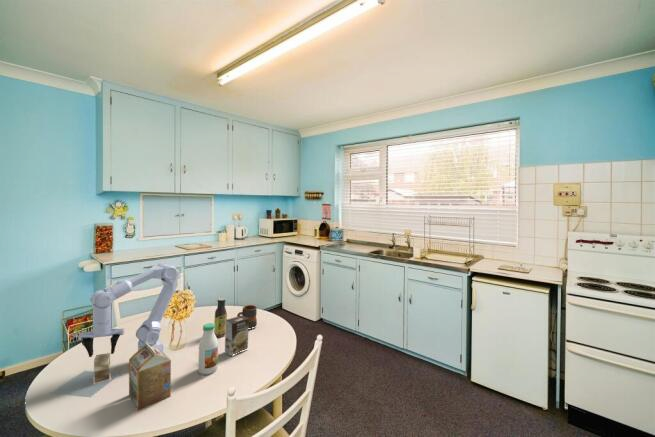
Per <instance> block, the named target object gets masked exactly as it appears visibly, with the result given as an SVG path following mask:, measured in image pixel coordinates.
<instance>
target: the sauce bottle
mask: <svg viewBox="0 0 655 437" xmlns="http://www.w3.org/2000/svg"><path fill="white" fill-rule="evenodd" d="M214 311H215V312H214V323H213V324H214V325H215V328H214V333H215V336H216V338H222V337H225V333H226V320H227V319H228V318H227V317H228V313H227V310H226V298H225V297H219V298H217V308H216V309H215V310H214ZM221 336H222V337H221Z"/></svg>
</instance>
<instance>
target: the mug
mask: <svg viewBox="0 0 655 437" xmlns="http://www.w3.org/2000/svg"><path fill="white" fill-rule="evenodd" d="M257 309H258V308H257V306H256V305H254V304H253V305H252V304H248V305H244V306H243V307H242V311H240V312H238V313H237V315H236V317H238V316H241V315H242V316H245V317H247V318H249V328H252V327H255V326H256V325H258V324H257V322H258V320H257V315H258V314H257V312H258V310H257ZM256 327H257V326H256ZM256 327H255V328H256Z"/></svg>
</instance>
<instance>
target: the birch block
mask: <svg viewBox="0 0 655 437" xmlns="http://www.w3.org/2000/svg"><path fill="white" fill-rule="evenodd" d="M110 366H111V352H107V353H106V352H105V353H100V354H96V355H95V358H94V360H93V371H94V372H96V371H101V370H106V369H109V370H110Z"/></svg>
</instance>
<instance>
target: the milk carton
mask: <svg viewBox="0 0 655 437" xmlns="http://www.w3.org/2000/svg"><path fill="white" fill-rule="evenodd" d="M128 361H129V362H128V396H129V397H130V400H131V402H132V404H133V405H134V407H135V409H136V410H137V411H142V410H143V409H145V408H148V407H150V406H153V405H154V404H157V403H159V402H161V401H163V400H166V399H168V398H170V397H171V393H172V392H171V388H172V387H171V383H172V382H171V381H172V380H171V379H172V376H171V375H172V374H171V372H172V360H171V358H170V357H169V356H167V355H166V354H165V352H164V351H163V352H162V351H161V350H160V349H158V348H156V347H153V346H149V345H148V344H147V342H145V346H144V347H142V348H141V349H140V350H139V351H138V350H137V351H136V352H135V353H134V354H133V355H132V356H131V357H129V359H128Z"/></svg>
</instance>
